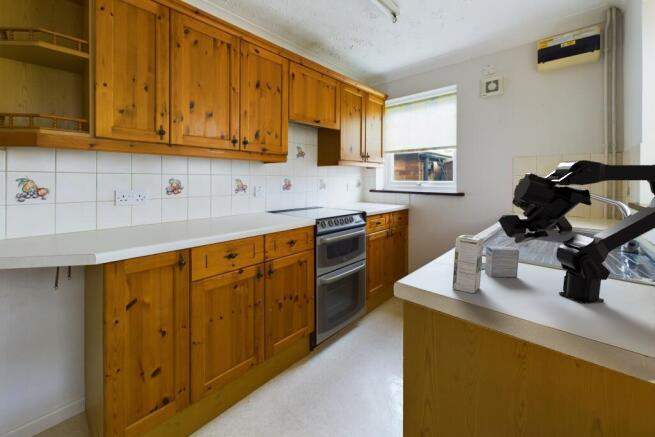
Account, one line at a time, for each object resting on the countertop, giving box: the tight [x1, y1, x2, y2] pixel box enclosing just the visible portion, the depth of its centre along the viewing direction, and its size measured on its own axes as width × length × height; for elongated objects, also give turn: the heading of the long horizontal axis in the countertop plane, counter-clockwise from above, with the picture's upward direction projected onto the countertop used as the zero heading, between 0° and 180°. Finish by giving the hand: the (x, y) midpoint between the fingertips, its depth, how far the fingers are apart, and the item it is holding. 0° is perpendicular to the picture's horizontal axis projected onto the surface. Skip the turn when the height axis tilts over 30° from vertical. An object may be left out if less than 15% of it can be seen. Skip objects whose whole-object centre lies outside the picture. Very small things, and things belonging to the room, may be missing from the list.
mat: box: [481, 262, 486, 271], centre depth 103 cm, size 6×10×1 cm, turn 101°
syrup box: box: [452, 234, 485, 294], centre depth 82 cm, size 6×6×14 cm
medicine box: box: [484, 246, 520, 278], centre depth 94 cm, size 8×4×9 cm, turn 84°
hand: (516, 241), depth 88 cm, fingers closed
